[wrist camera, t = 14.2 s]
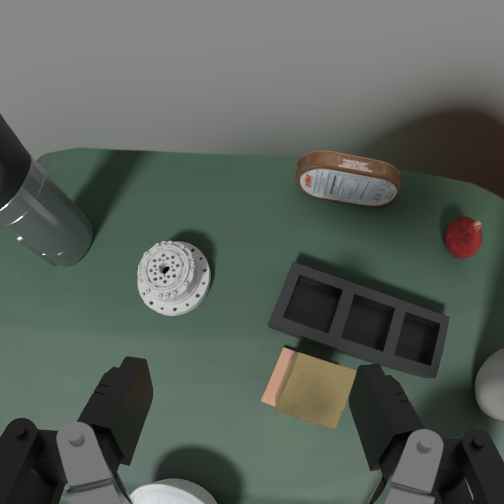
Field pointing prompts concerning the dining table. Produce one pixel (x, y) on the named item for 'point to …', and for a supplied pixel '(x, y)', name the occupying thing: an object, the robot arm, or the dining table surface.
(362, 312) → the compartment tray
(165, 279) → the mechanical component
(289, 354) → the tile
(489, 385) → the glass bottle
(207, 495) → the ramekin
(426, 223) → the dining table surface
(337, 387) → the brass block
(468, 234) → the pomegranate
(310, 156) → the tin
